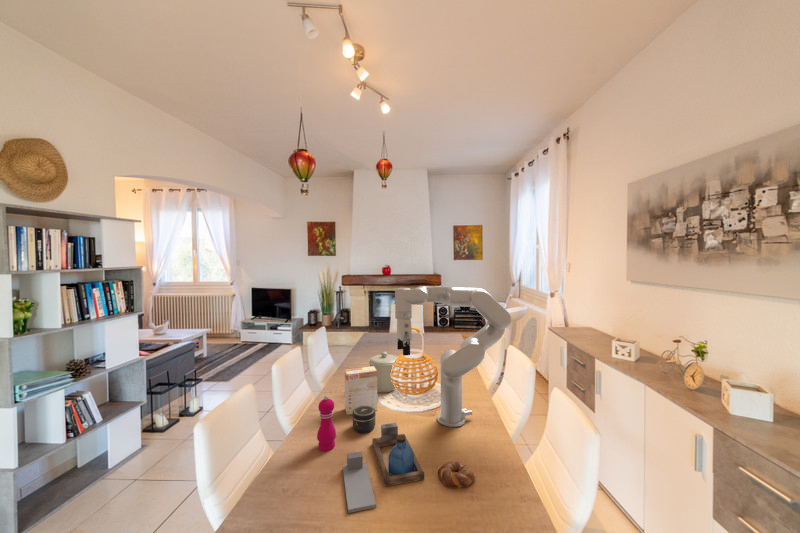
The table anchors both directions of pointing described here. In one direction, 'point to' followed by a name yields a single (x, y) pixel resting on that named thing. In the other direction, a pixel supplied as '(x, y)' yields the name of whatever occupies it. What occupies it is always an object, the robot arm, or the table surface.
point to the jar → (363, 419)
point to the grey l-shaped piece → (357, 484)
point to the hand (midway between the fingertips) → (403, 352)
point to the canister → (383, 371)
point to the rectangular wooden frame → (386, 439)
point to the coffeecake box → (360, 388)
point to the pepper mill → (326, 425)
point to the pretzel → (455, 475)
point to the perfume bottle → (400, 457)
